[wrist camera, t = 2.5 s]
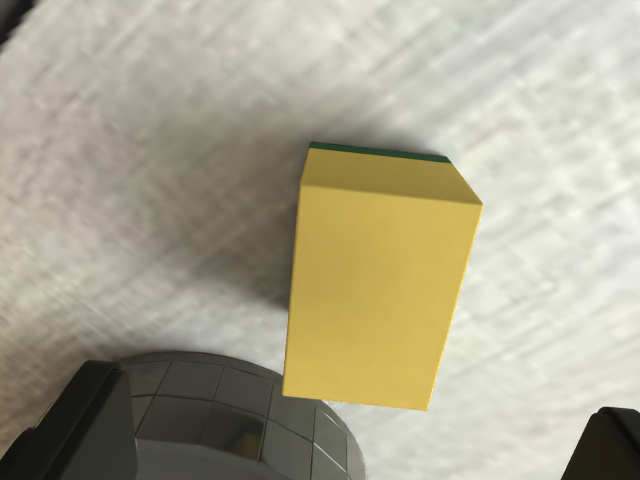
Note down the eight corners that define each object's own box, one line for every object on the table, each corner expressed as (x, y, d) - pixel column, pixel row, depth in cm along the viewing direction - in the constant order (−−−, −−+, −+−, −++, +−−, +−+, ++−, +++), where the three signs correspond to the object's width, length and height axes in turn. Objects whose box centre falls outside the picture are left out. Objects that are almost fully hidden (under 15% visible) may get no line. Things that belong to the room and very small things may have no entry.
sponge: (310, 140, 15) (299, 183, 11) (447, 156, 15) (485, 204, 11) (294, 314, 18) (281, 396, 14) (408, 327, 18) (427, 411, 14)
